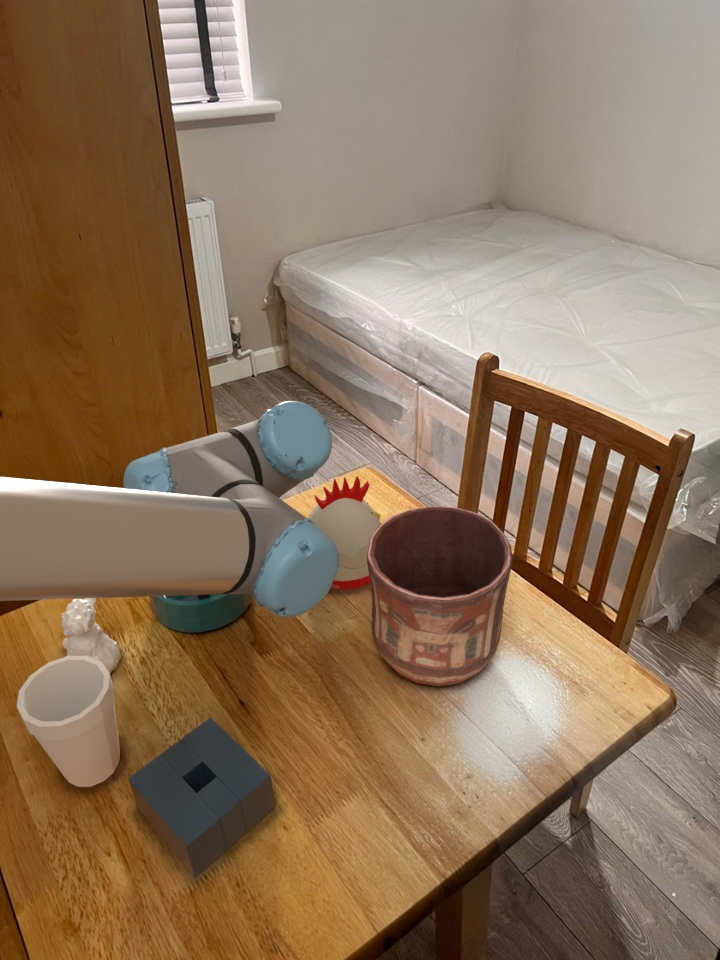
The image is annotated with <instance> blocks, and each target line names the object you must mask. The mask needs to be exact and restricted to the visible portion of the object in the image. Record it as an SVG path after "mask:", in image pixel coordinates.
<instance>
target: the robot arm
mask: <svg viewBox="0 0 720 960" xmlns="http://www.w3.org/2000/svg"><path fill="white" fill-rule="evenodd" d="M332 449H333V436H332V432H331V430H330V426H329V424H328V423H327V421H326V419H325V418H324V416H323V415H322V414H321V413H320V412H319V411H318V410H317V409H316V408H314V407H313V406H311V405H309V404H308V403H305V402H302V401H297V400H287V401H282V402H280V403H278V404H276V405H274V406H273V407H272V408H269V409H266V410H265V413H263V414H262V415H261V416H260V418H258V419H256V420H253V421H251V422H247V423H244V424H241V425H237V426H235V427H231V428H228V429H226V430H223V431H220V432H217V433H213V434H210V435H206V436H203V437H199V438H196V439H193V440H189V441H185V442H182V443H179V444H175V445H172V446H168V447H162V448H160V450H157V451H155V452H153V453H152V452H151V453H150V454H147V455H144V456H142V457H139V458H137V459H134V460H132V461H131V462H130V463H129V464H127V467H126V468H125V471H124V474H123V487H114V486H101V485H92V484H91V485H90V484H81V483H73V482H60V481H50V480H41V479H30V478H20V477H9V476H0V602H7V601H8V602H11V601H40V600H41V601H43V600H44V601H45V600H73V599H85V598H96V599H108V598H109V599H111V598H112V599H113V598H141V597H149V596H178V595H211V594H228V595H230V594H248V595H251V596H253V598H254V599H255V602H256V603H257V605H258V606H259V607H264V608H266V610H268V611H269V612H270V613H272V614H274V615H275V616H278V617H281V618H294V617H298V616H301V615H303V614H305V613H307V612H309V611H310V610H312V609H314V608H315V607H316V606H317V605H318V604H319V603H320V602H321V601H322V600H323V599H324V598H325V597H326V596H327V594H328V593H329V592H330V590H331V589H332V588H331V587H332V582H333V580H334V579H335V576H336V574H337V572H338V567H339V555H338V551H337V548H336V546H335V544H334V543H333V541H332V540H331V539H330V538H329V537H328V536H327V535H325V534H324V533H323V532H322V531H321V530H320V529H319V528H318V527H316V525H315V523H314V522H313V521H312V520H310V519H309V518H308V517H306V516H304V515H303V514H302V513H300V512H299V511H298V510H296V509H295V508H294V507H292V506H290V504H288V503H287V502H285V501H284V500H283V499H281V497H282V496H283V495H285V494H286V493H288V492H289V491H291V490H292V489H293V488H295V487H296V486H298V485H299V484H301V483H302V482H304V481H305V480H309V479H311V478H313V477H314V476H315V474H316V473H317V472H318V471H319V470H320V469H321V468H322V467H323V466H324V465H325V464H326V463H327V461H328V460H329V458H330V456H331V453H332Z"/></svg>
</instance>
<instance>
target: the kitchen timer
mask: <svg viewBox="0 0 720 960" xmlns="http://www.w3.org/2000/svg"><path fill="white" fill-rule="evenodd" d="M369 488H370V482H369V481H368V480H366V481H365V483H364V485H362V486H361V480H360V478H359V475H356V477H355V479H354V483H353V485H352V487H350V486H349V483H348V481H347V478H346V477H345V476H344V477H343V482H342V487H341V489H340V486H339V484H338V482H337V480H336V478H333V483H332V490H331V491H330V490H328V488H327V487H326V486H323V489H322V490H323V491H324V493H325V497H324V498H323V499H320V498H319V497H318V496H317V495H316V494H314V499H315V502H316V505H315V506H314V508H313V509H312V510H311V512H310V513H309V515H308V516H307V518H309V519H310V520H312V521H313V522H314V523H315V525H316V527H318V528H319V529H320V530H321V531H322V532H323V533H324V534H325V535H327V536H328V537H329V538H330V539H331V540H332V541H333V543H334V544H335V546H336V548H337V551H338V555H339V567H338V572H337V574H336V576H335V579H334V580H333V582H332V587H331V588H330V589H333V590H342V591H343V590H352V589H358V588H362V587H364V586H367V585H369V584H371V583H370V576H369V571H368V566H367V552H368V546H369V539H370V538H371V536H372V535H373V534H374V532H375V531H376V529H377V528H378V527H379V525H381V524H382V523H381V514H380V513H379V512H377V511H376V510H374V508H372V507H371V505H370V504H369V503H368V502H366V500H364V498H365V497H366V496H367V495H366V494H367V492H368V491H369Z"/></svg>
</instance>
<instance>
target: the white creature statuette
mask: <svg viewBox="0 0 720 960" xmlns="http://www.w3.org/2000/svg"><path fill="white" fill-rule="evenodd" d="M97 601H98V600H97V598H81V599H71V602H69V603H68V604H67V606H66V607H65V612H62V613H61V614H60V617H61V628H63V629H64V630H63V631H62V634H63V635H64V636H67V637H65V638H64V639H63V641H62V645H61V646H62V648H63V649H65V650H66V656H86V655H87V656H89V657H92V658H94V659H97V660H99V661H101V662H102V663H103V664H104V666H105V667H106V669H107V670H108V672H109V673H110V674H111V673H112V672H113V671H114V670H115V669H117V667H118V664H119V662H120V660H121V657H122V656H121V655H122V654H121V651H120V645H119V644H118V643H117V641H116V640H115V639H112V638H111V637H110V636H109V635H108V634H106V632H104V629H102V628H101V626H100V624H98V623H96V620H97V611H96V609H95V605H96V603H97Z"/></svg>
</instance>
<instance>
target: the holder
mask: <svg viewBox="0 0 720 960" xmlns="http://www.w3.org/2000/svg"><path fill="white" fill-rule="evenodd" d="M128 782H129V784H130V785H129V786H130V788H131V790H132V793H133V796H134V799H135V803H136V806H137V807H138V811H139V812H140V813H141V814H142V816H143V817H144V818H145V819H146V820H147V822H148V823H149V824H150V826H152V828H153V829H154V830H155V831H156V833H157V834H158V835H159V836H160V837H161V839H162V840H163V841H164V842H165V844H166V845H167V847H169V848H170V850H171V851H172V852H173V853H174V854H175V856H176V857H177V859H178V860H179V861H180V862H181V863H182V864H183V865H184V867H185V868H186V869H187V871H188V872H189V873H190V874H191V875H192V877H193V878H195V879H197V877H199V876H200V875H201V874H203V872H204V871H206V870H207V869H208V868H209V867H210V866H211V865H213V863H215V862H216V861H217V860H218V859H219V858H220V857H221V856H222V855H224V854H225V853H226V852H227V851H228V850H229V849H230V848H231V847H232V846H234V845H235V844H236V843H237V842H238V841H239V840H240V839H242V838H243V837H244V836H245V835H246V834H247V833H248V832H249V831H251V830H252V829H253V828H254V827H255V826H256V825H257V824H259V823H260V822H261V821H262V820H263V819H264V818H266V817H267V816H268V815H269V814H270V813H271V812H272V811H273V810H275V809H276V802H275V801H276V800H275V795H274V789H273V782H272V776H271V774H270V773H269V772H268V771H267V770H265V768H263V766H262V765H261V764H259V762H257V761H256V759H254V757H252V756H251V755H250V754H249V753H248V752H247V751H246V749H244V748H243V747H242V746H241V745H240V744H239V743H238V742H237V741H236V740H235V739H234V738H233V737H232V736H231V735H230V734H229V733H228V732H227V731H225V729H224V728H223V727H221V725H219V723H217V722H216V720H214V719H213V718H212V717H209V718H207V719H206V720H205V721H203V722H202V723H201V724H199V725H198V726H196V727H194V728H193V730H191V731H190V732H189V733H187V734H186V735H185V736H184V737H182V738H181V739H179V740H178V741H177V742H175V743H174V744H172V745H171V746H170V747H168V748H167V749H166V750H164V751H163V752H162V753H161V754H159V755H157V756H156V757H155V758H154V759H152V760H151V761H149V762H148V763H147V764H145V765H144V766H143V767H141V768H140V769H139V770H137V771H136V772H135V773H134V774H132V775H131V776H129V777H128Z"/></svg>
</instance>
